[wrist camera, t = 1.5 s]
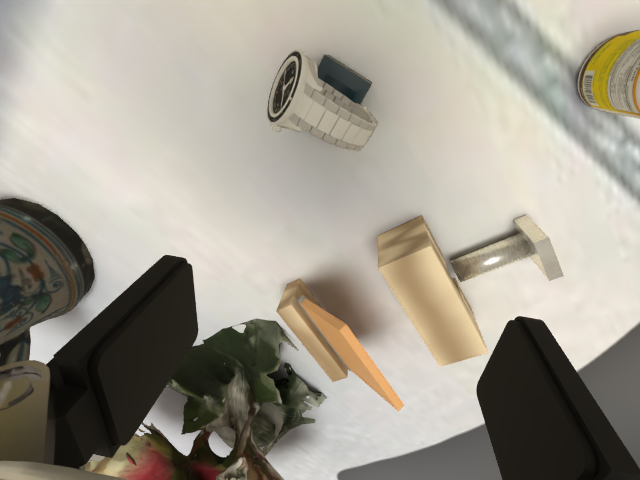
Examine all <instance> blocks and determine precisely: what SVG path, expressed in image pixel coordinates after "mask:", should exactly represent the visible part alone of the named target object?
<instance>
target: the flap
mask: <svg viewBox="0 0 640 480" xmlns="http://www.w3.org/2000/svg"><path fill="white" fill-rule="evenodd" d="M297 302H298V303H299V305H300V306H301V307H302V309H303V310H304V311H305V313H306V314H307V315H308V317H309V318H310V319H311V321H312V322H313V323H314V325H315V326H316V327H317V328H318V330H319V331H320V332H321V334H322V335H323V336H324V338H325V339H326V340H327V342H328V343H329V344H330V346H331V347H332V348H333V350H334V351H335V352H336V353H337V355H338V356H339V357H340V359H341V360H342V361H343V363H344V364H345V365H346V367H347V368H348V369H349V370H350V371H352V372H354V373H355V374H356V375H357V376H358V377H359V378H361V379H362V380H363V381H364V382H365V383H366V384H367V385H369V386H370V387H371V388H372V389H373V390H374V391H376V392H377V393H378V394H379V395H380V396H381V397H383V398H384V399H385V400H386V401H387V402H388V403H389V404H391V405H392V406H393V407H394V408H395V409H396V410H398V411H399V410H400V409H401V408H402V407H403V406H404V404H403V403H402V401H401V400H400V398H399V397H398V396H397V394H396V393H395V391H394V390H393V389H392V387H391V386H390V385H389V383H388V382H387V380H386V379H385V378H384V376H383V375H382V373H381V372H380V371H379V369H378V368H377V366H376V365H375V364H374V362H373V361H372V359H371V358H370V357H369V355H368V354H367V352H366V351H365V350H364V348H363V347H362V345H361V344H360V343H359V341H358V340H357V338H356V337H355V336H354V334H353V333H352V331H351V330H350V329H349V327H348V326H347V324H345V323H344V322H342V321H341V320H339V319H338V318H336V317H334V316H333V315H331V314H330V313H328V312H327V311H325V310H323V309H322V308H320V307H319V306H317V305H315V304H314V303H312V302H311V301H309V300H308V299H306V297H305V296H304V295H302V296H300V297H299V298H298V299H297Z"/></svg>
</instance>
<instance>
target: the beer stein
mask: <svg viewBox="0 0 640 480" xmlns="http://www.w3.org/2000/svg"><path fill="white" fill-rule="evenodd" d="M94 278H95V277H94V268H93V260H92V257H91V256H90V254H89V252H88V250H87V248H86V246H85V244H84V242H83V241H82V240H81V238H80V237H79V236H78V234H77V233H76V232H75V231H74V230H73V229H72V228H71V227H70V226H68V225H67V224H66V223H65V222H64V221H63V220H62V219H61V218H60V217H59V216H58V215H56V214H54V213H52V212H51V211H49V210H47V209H46V208H44V207H42V206H40V205H39V204H36V203H32V202H28V201H23V200H19V199H15V198H12V199H6V200H0V367H2V366H4V365H7V364H10V363H14V362H19V361H24V360H29V356H30V343H31V339H30V331H29V330H30V327H31V326H34V325H36V324H38V323H40V322H43V321H45V320H48V319H51V318H55V317H58V316H61V315H63V314H65V313H67V312H69V311H70V310H72V309H73V308H74V307H75V306H76V305H77V304H78V303H79V302H80V300H81V299H82V298H83V296H84V295H85V294H86V293H87V292H88V291H89V289H90V287H91V285H92V282H93V280H94Z"/></svg>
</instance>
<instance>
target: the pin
mask: <svg viewBox="0 0 640 480" xmlns="http://www.w3.org/2000/svg"><path fill="white" fill-rule="evenodd" d="M514 222H515V225H516V227H517V229H518V232H519V234H517V235H514V236H512V237H509V238H507V239H504V240H502V241H499V242H497V243H494V244H492V245H489V246H487V247H484V248H482V249H479V250H477V251H474V252H472V253H469V254H467V255H464V256H462V257H459V258H457V259H454V260H452V261H451V264H452V266H453V268H454V271H455V273H456V275H457V277H458V279H459V280H460V282H463V281H465V280H468V279H471V278H473V277H476V276H479V275H481V274H484V273H487V272H490V271H492V270H495V269H498V268H500V267H503V266H506V265H508V264H511V263H514V262H516V261H519V260H522V259H524V258H527V257H531V259H532V260H533V261H534V262H535V264H536V265H537V266H538V268H539V269H540V270H541V271H542V273H543V274H544V275H545V276H546V278H547V279H548V280H549V281H550V280H553V279H556V278H559V277H562V276H564V275H563V273H562V270H561V268H560V265H559V262H558V260H557V257H556V255H555V252H554V249H553V247H552V244H551V242H550V239H549V237H548V236H547V235H546V234H545V233H544V232H543V231H542V230H541V229H540V228H539V227H538V226H537V225H536V224H535V223H534V222H533V221H532V220H531V219H530V218H529V217H528V216H527V215H524V216H522V217H520V218H517V219H515V220H514Z"/></svg>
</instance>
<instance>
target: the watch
mask: <svg viewBox="0 0 640 480" xmlns="http://www.w3.org/2000/svg"><path fill="white" fill-rule="evenodd" d="M371 84H372V82H370V81H369V80H367V79H366V78H364V77H363V76H361V75H359V74H358V73H356V72H355V71H353V70H352V69H350V68H348V67H347V66H345V65H344V64H342V63H341V62H339V61H337V60H336V59H334V58H333V57H331V56H330V55H324V57H323V59H322V61H321V63H320V65H319V67H318V69H317V65H316V63H315V62H314V60H312V59H311V58H309V57H307V56H306V55H304V53H303V52H301V51H300V50H295V51H293V52H292V53H291V54H290V55H289V56H288V57H287V58H286V60H285V61H284V62H283V64H282V66H281V67H280V69H279V71H278V73H277V76H276V78H275V80H274V83H273V86H272V89H271V92H270V96H269V101H268V119H269V122H270V123H272V124H271V126H270V127H271V128H272V129H273V130H275V131H278V132H280V130H281V128H282V127H284V128H289V129H292V130H295V131H298V132H301V130H302V129H304V130H305V131H307V132H310V134H312V135H314V136H316V137H318V138H320V139H322V140H323V141H326V142H328V143H330V144H333V145H335V146H337V147H340V148H343V149H348V150H354V151H359V150H361V149H362V148H363V147H364V146H365V144H366V143H367V141H368V140H369V138H370V137H371V135H372V133H373V132H374V130H375V128H376V126H377V124H378V122H377V120H376V119H375V118H374V117H373V116H372V115H371V114H370V113H369V112H368V111H367V108H366V107H365V106H361V105H360V104H361V102H362V100H363V98H364V97H365V95H366V93H367V91H368V90H369V88H370V86H371ZM310 130H311V131H310Z"/></svg>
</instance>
